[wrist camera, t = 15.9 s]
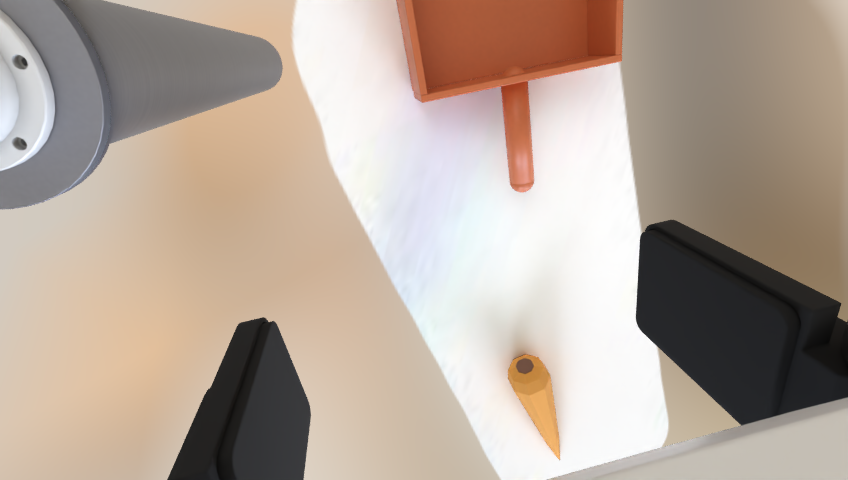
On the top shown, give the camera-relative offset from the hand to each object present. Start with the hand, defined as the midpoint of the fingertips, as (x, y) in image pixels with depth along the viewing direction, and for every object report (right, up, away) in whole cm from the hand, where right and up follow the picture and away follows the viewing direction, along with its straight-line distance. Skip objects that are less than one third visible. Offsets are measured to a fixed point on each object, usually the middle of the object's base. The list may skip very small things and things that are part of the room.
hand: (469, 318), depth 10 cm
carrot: (+12, -18, +39) cm, 45 cm away
